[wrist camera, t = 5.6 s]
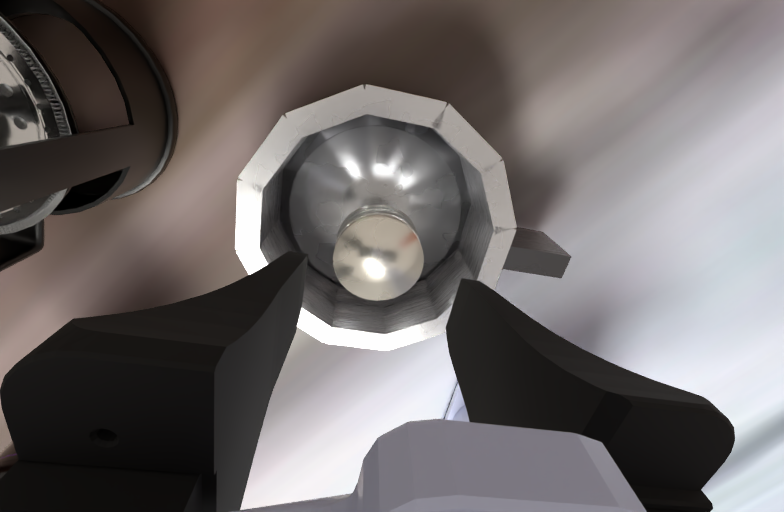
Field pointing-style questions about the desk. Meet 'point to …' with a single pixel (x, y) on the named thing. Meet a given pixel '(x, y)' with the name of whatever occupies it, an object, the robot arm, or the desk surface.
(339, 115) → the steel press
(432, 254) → the plunger
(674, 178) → the desk surface
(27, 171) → the french press
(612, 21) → the desk surface
